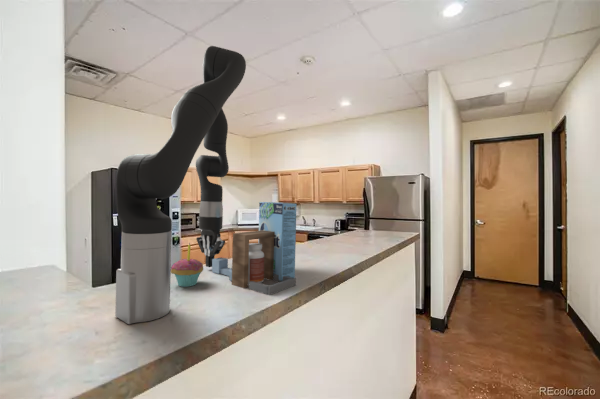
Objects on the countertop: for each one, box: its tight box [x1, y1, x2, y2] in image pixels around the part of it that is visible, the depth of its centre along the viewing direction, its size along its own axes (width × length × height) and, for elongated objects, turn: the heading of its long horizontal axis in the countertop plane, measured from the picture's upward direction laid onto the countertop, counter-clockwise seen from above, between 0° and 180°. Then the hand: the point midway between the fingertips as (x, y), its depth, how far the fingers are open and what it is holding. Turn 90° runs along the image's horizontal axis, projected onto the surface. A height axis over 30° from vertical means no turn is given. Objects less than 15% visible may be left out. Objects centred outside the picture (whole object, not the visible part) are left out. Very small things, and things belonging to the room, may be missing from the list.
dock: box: [248, 274, 297, 296], centre depth 81 cm, size 11×8×2 cm
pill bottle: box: [248, 242, 265, 285], centre depth 85 cm, size 6×6×11 cm
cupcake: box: [171, 242, 204, 288], centre depth 81 cm, size 9×8×12 cm
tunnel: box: [231, 230, 274, 289], centre depth 85 cm, size 5×12×14 cm, turn 143°
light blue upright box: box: [257, 201, 297, 281], centre depth 94 cm, size 20×5×23 cm, turn 29°
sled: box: [211, 257, 232, 282], centre depth 92 cm, size 13×8×4 cm, turn 53°
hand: (209, 266), depth 97 cm, fingers closed
